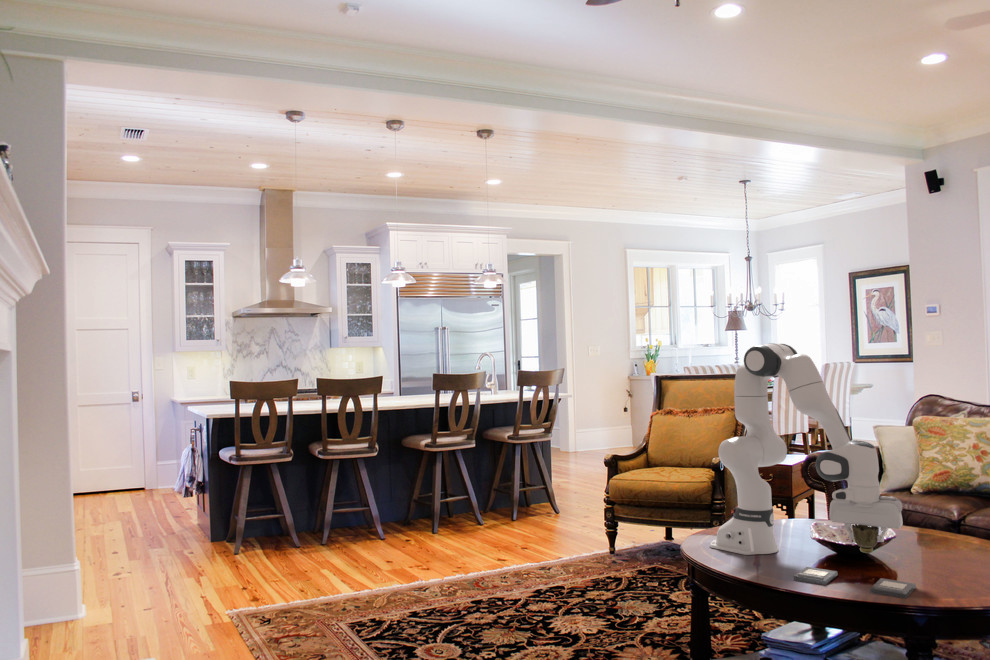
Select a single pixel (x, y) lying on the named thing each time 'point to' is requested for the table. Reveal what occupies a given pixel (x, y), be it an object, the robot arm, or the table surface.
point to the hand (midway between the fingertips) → (866, 539)
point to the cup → (865, 537)
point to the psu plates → (879, 587)
